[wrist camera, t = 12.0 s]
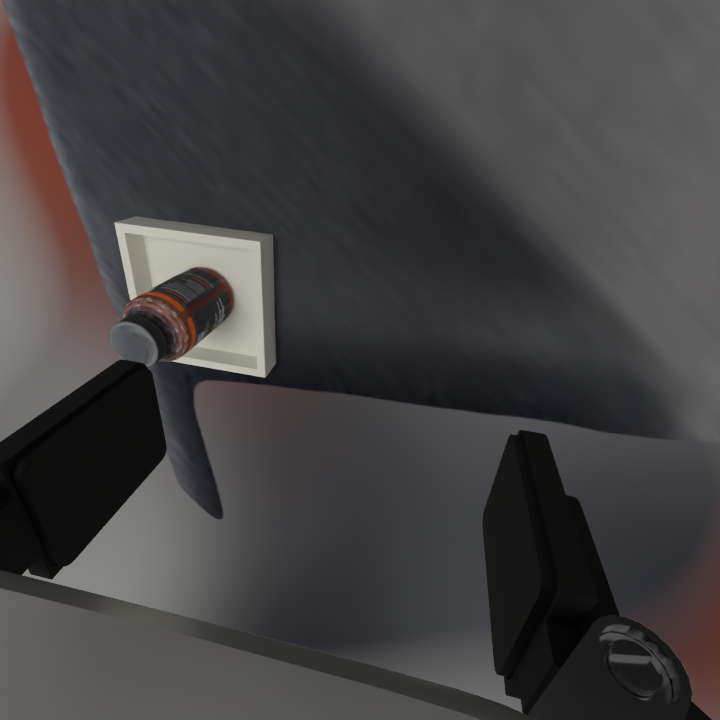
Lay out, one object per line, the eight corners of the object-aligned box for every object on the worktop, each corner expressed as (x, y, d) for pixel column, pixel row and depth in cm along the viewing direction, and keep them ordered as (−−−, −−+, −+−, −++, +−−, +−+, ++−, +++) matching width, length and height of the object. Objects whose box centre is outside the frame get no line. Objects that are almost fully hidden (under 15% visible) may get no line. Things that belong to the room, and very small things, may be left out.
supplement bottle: (173, 264, 40) (85, 306, 31) (230, 265, 39) (157, 309, 30) (187, 320, 43) (110, 375, 33) (240, 324, 42) (177, 381, 32)
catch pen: (136, 216, 39) (114, 222, 37) (273, 234, 38) (260, 241, 35) (159, 343, 46) (141, 356, 43) (276, 363, 44) (265, 377, 42)
